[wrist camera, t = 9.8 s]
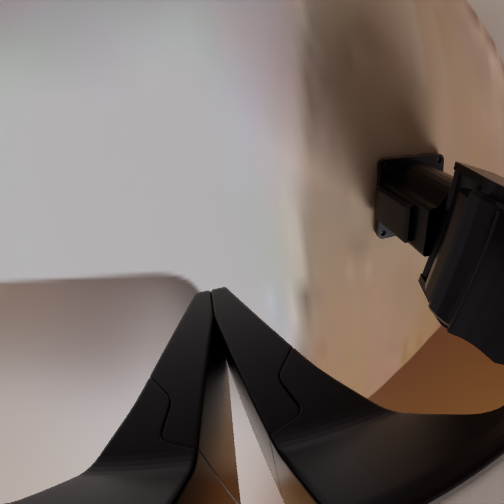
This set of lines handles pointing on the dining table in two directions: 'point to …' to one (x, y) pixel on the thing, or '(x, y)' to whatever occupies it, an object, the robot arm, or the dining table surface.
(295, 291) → the dining table surface
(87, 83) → the dining table surface
